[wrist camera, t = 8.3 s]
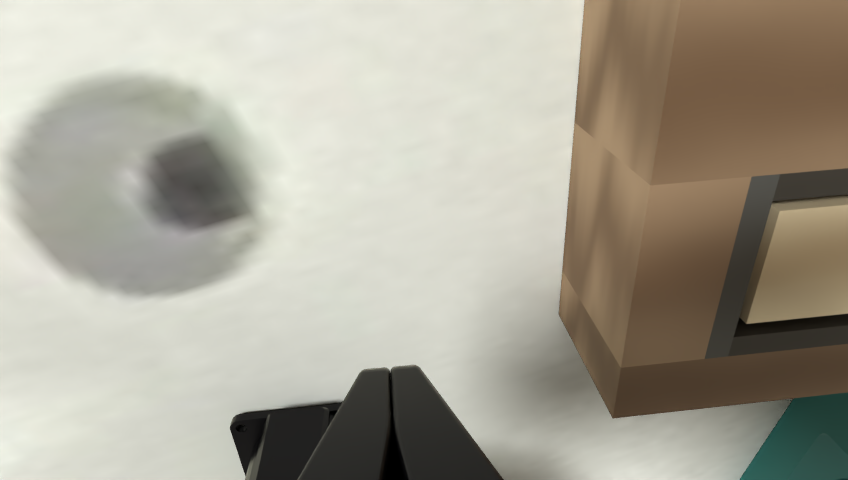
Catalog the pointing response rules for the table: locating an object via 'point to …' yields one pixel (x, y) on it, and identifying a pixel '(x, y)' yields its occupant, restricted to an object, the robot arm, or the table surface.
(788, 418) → the bracket
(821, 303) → the peg
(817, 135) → the band block
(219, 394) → the table surface
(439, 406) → the robot arm
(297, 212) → the table surface
